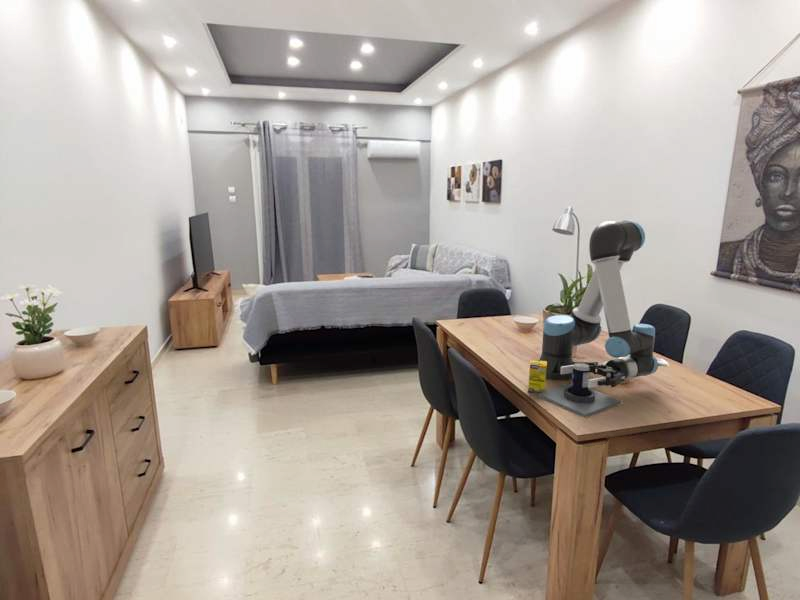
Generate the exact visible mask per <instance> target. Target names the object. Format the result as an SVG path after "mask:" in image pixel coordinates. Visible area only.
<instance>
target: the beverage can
mask: <svg viewBox="0 0 800 600" xmlns="http://www.w3.org/2000/svg"><path fill="white" fill-rule="evenodd" d="M590 376H591V374H590V368H589V365H588V364H585V363H575V364H574V366H573V372H572V379H571V383H572V385H571V394H573V395H576V396H581V397H582V396H588V389H590V388H588V380H590Z"/></svg>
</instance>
